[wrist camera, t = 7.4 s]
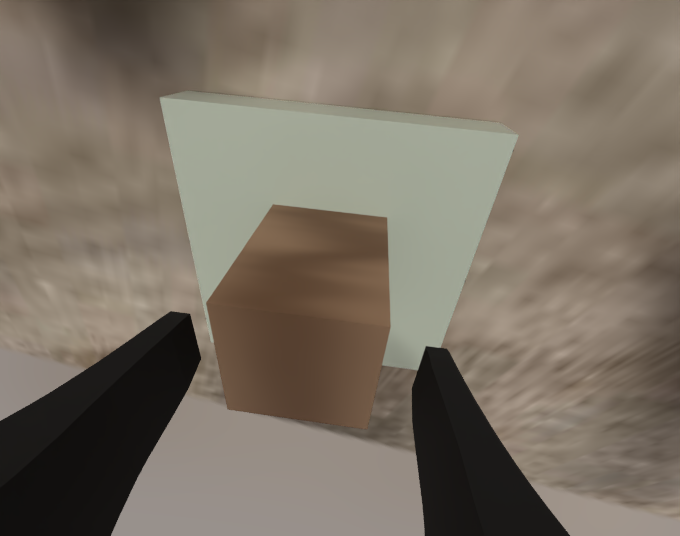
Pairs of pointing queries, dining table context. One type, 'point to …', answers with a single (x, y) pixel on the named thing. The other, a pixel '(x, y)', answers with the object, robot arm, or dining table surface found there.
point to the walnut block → (305, 317)
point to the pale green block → (342, 191)
